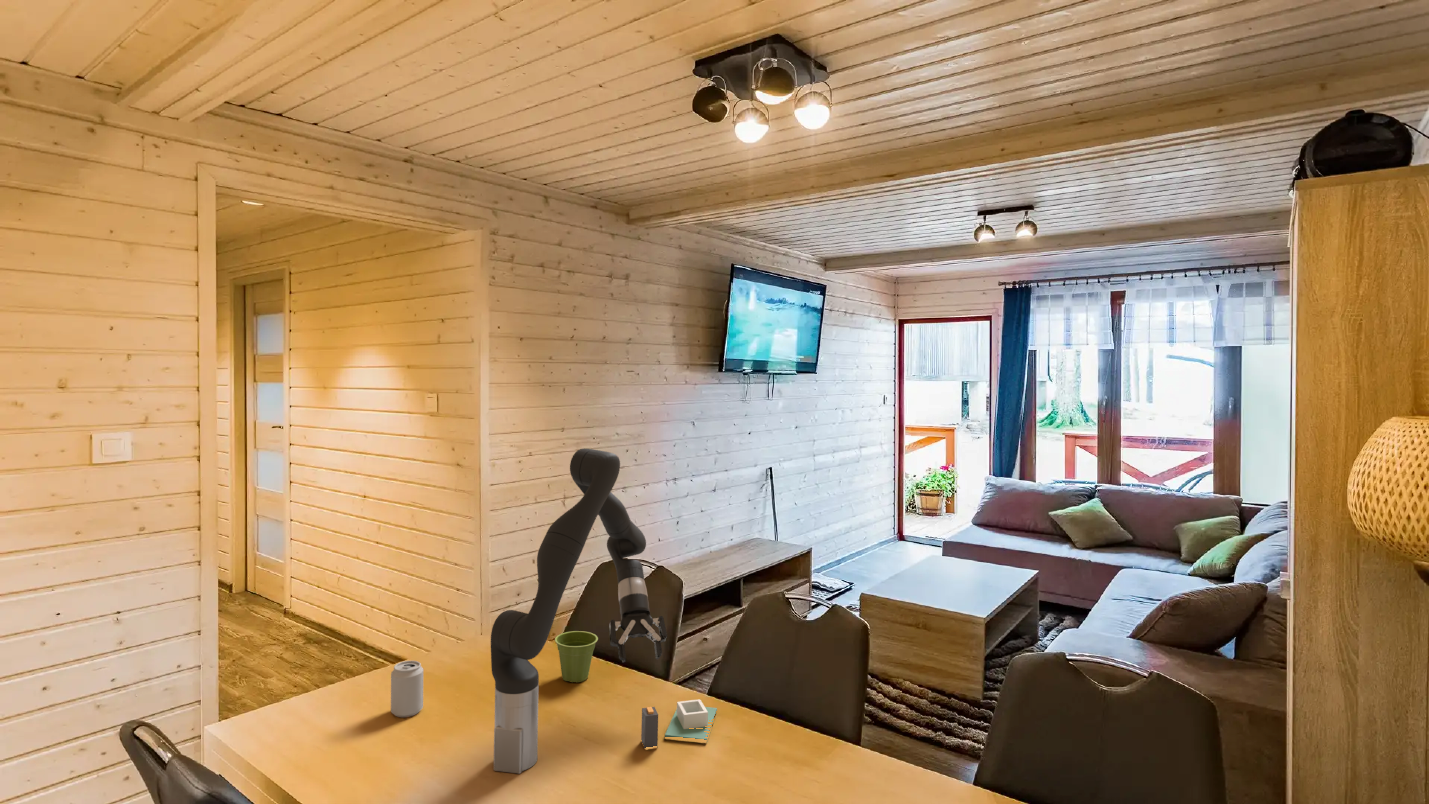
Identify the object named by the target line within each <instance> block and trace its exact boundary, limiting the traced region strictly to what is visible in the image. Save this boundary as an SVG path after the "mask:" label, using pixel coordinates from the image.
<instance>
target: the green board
mask: <svg viewBox="0 0 1429 804" xmlns="http://www.w3.org/2000/svg"><path fill="white" fill-rule="evenodd" d="M705 708H706V710H707V711H708V722H713V720H712V719H714V716H715V714H716V711H717V712H718V708H717V707H710V706H705ZM716 715H717V714H716ZM709 720H710V721H709ZM711 720H712V721H711ZM708 725H712V724H708ZM698 728H703V729H696V728H694V729H683V727H682V725H681V723H680V721H679V719H678V717H677V708H676V709H675V712H674V714H673V715H672V718H671V720H670V723H669V725H668V727H667V728H666V729H667V730H666V731H665V733H664V738H665V737H683V738H695V739H704V740H707V738H705V737H708V735H706V734H709V733H707V732H704V731H710V730H708V729H705V728H711V727H698Z"/></svg>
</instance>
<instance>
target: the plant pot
mask: <svg viewBox="0 0 1429 804" xmlns="http://www.w3.org/2000/svg"><path fill="white" fill-rule="evenodd" d="M598 640H599V637H598V635H596V634H595V633H592V632H590V631H581V630H580V631H579V630H573V631H566V632H563V633H560V634H558V635H556V637H555V638H554V642H555V644H556V646H557V650H558V654H559V655H558V657H559V664H560V671H561V673H560V674H561V678H562V680H563V681H565V682H571V683H573V682H576V683H581V682H584V681H586V680H587V679H588V678H589V675H590V669H591V664H592V659H593V654H594V650H595V647H596V643H597V642H598Z"/></svg>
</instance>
